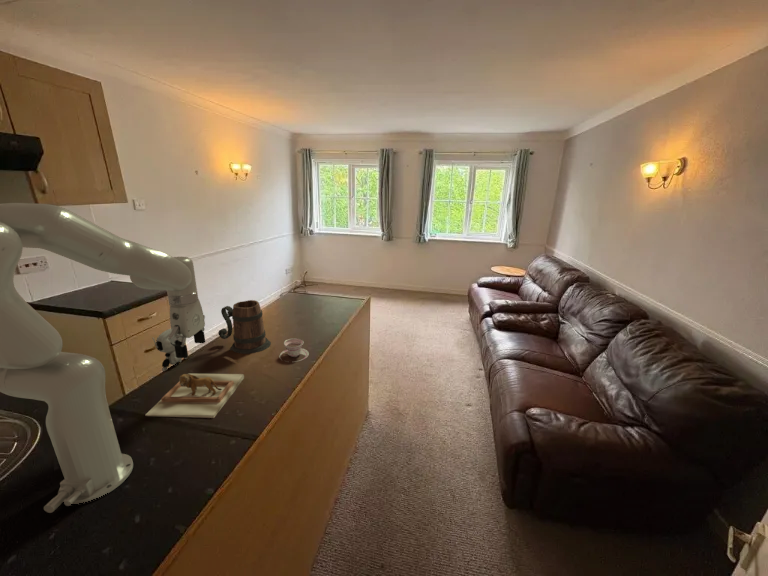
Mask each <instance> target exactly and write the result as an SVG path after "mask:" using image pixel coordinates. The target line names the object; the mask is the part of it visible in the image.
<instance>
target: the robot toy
mask: <svg viewBox="0 0 768 576" xmlns="http://www.w3.org/2000/svg"><path fill="white" fill-rule="evenodd" d="M171 332H172V331H171V328H168V329H166V330H164V331H162V333H160V334H159V335H158V336H157V338H156V341H155V337H152V340H153V342H154V346H155V349H156V350H157V351H159V352H160V353H165V354H164V357H165V358H164V360H163V361H162V363H161V364H162V365H161V368H162V372H166V371H167V370H168V367H169V366H170V365H173V366H178V365H179V364H180V363H182V361H183V359H185V360H187V359H188V358H189V356H188V357H187V358H177V357H176V352H175V347H173V345H172V344H171V343H170V341H169V340H168V336H169V335H170V333H171ZM180 336H183V335H180ZM178 340H179V341H180V342H181V341H182V338H179V339H178ZM179 362H180V363H179ZM178 363H179V364H178ZM175 364H176V365H175Z"/></svg>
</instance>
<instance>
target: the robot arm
mask: <svg viewBox="0 0 768 576" xmlns="http://www.w3.org/2000/svg"><path fill="white" fill-rule="evenodd" d="M24 248H27V249H28V248H29V249H42V250H44V251H48V252H51V253H53V254H56V255H58V256H61V257H63V258H67V259H69V260H71V261H75V262H77V263H79V264H81V265H84V266H87V267H89V268H92V269H94V270H98V271H101V272H105V273H109V274H116V275H120V276H121V275H122V276H129V279H130V281H131V283H132V284H133V285H135V286H136V287H137V288H140V289H142V290H143V289H144V290H152V291H166V293H167V299H168V305H169V321H170V329H171V331H172V332H171V333H170V335H169V336H168V340H169V341H170V343H171V344H172V345H173V347H175V352H176V357H177V358H182V359H184V358H187V357H188V358H189V354H188V353H189V352H188V347H187V344H186V340H187V339H190V338H192V337H193V340H194V343H195V344H205V343H206V337H205V326H206V320H205V318H206V316H205V314H204V312H203V308H202V307H203V306H202V305H201V301H200V299H199V295H198V289H197V281H196V280H197V279H196V274H195V268H194V261H193V260H192V258H190V257H187V256H171V255H170V254H168V253H165V252H163V251H160V250H158V249H155V248H151V247H148V246H146V245H144V244H140V243H137V242H135V241H132V240H129V239H125V238H122V237H120V236H118V235H116V234H114V233H113V232H111V231H108V230H107V229H104V228H102V227H101V226H100V225H98V224H95V223H93V222H92V221H90V220H89V219H86V218H84V217H82V216H80V215H78V214H77V213H75V212H73V211H71V210H70V209H66V208H64V207H62V206H59V205H55V204H49V203H32V202H31V203H29V202H28V203H27V202H9V203H8V202H7V203H0V393H2V394H5V395H7V396H10V397H14V398H21V399H28V400H29V399H30V400H36V401H42V402H44V403H46V404H47V406H48V409H47V413H46V416H45V427H46V431H47V434H48V436H49V438H50V441H51V444H52V447H53V449H54V453H55V456H56V457H57V458H56V459H57V461H58V464H59V466H60V470H61V472H62V476H63V477H64V479H63V480H61V481H60V482H59V485H60V487H59V489H58V491H57V495H55V496H54V497H53V498H52V499H51V500H49V501H48V502H47V503H46V504H45V505H44V506H43V510H44V511H45V512H46V513H49V514H51V513H53V512H55V510H57V509H58V507H59V506H61V505H62V503H63V502H64V503H63V504H64V505H65V506H66V507H69V506H72V505H71V504H78V505H80V504H79V503H83V502H84V503H83V504H86V503H85V502H87V503H89V502H88V501H90V502H92V501H91V500H93V499H95V500H97V499H96V498H98V499H100V498H102V497H104V496H106V495H108V494H109V493H111V492H113V491H114V490H116V488H118V487H119V486H121V485H122V484H123V483H124V482H125V480H126V479H127V478H128V477H130V474H131V473H132V471H133V468H134V462H133V459H132V458H133V457H131V456H130V455H129V454H127V453H126V454H125V453H122V451H121V447H120V444H119V440H118V437H117V433H116V430H115V426H114V423H113V419H112V416H111V412H110V407H109V404H108V400H107V395H106V394H107V393H106V369H105V367H104V365H103V364H102V362H101V361H100V360H99V359H97V358H95V357H94V356H91V355H87V354H83V353H75V352H67V351H62V349H63V338H62V336H61V334H60V333H59V331H58V330H57V329H56V328H55V327H54V325H52V324H51V323H50V322H48V321H47V320H46V319H45V318H44V317H43V316H42V315H41V314H40V313H39V312H38V311H37V310H35V308H33V307H32V306H31V304H29V303H28V302H27V300H25V299H24V298H23V297H22V296H21V295H20V294H19V292H18V291H17V289H16V287H15V283H14V276H15V271H16V269H17V266H18V265H19V262H20V260H21V257H22V255H23V249H24ZM180 335H183V336H180ZM179 338H182V341H181V342H180V341H179V340H178V339H179ZM188 358H187V359H188ZM107 493H108V494H107ZM105 494H106V495H105ZM103 495H104V496H103ZM101 496H102V497H101ZM99 497H100V498H99ZM93 501H94V500H93Z"/></svg>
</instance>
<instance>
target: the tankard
mask: <svg viewBox="0 0 768 576" xmlns="http://www.w3.org/2000/svg"><path fill="white" fill-rule="evenodd" d="M220 313H221V316H222V317H223V318H222V319H224V321H225V322H226V327H227V328H222V329H220V330H219V331H218V336H219V338H221V339H222V340H227V339H228V338H230V337H231V335H232V334H233V341H234V342H233V343H232V345H231V346H230V348H229V351H233V352H234V353H236V354H241V355H242V354H243V355H245V354H246V355H250V354H255V353H260V352H262V351H265V350H267V349H268V348H269V347H271V345H272V342H271V341H270V340H269V339H268V338H267V337H266V334H267V333H266V330H265V326H264V320H263V318H264V317H263V314H264V313H263V310H262V309H261V306H260V302H259V301H257V300H255V299H254V300H253V299H249V300H244V301H238V302H236V303H234V304H233V307H231V306H229V305H226V306H224V307H222V308H221V312H220ZM231 319H232V320H231Z"/></svg>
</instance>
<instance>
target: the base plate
mask: <svg viewBox="0 0 768 576" xmlns="http://www.w3.org/2000/svg"><path fill="white" fill-rule="evenodd" d="M190 374H191V375H194V376H196V377H197V378H206V377H209V378H212V380H213V381H214V383H215V384H216V386H217V388H220V389H222V390H218V389H216V387H215V386H214V384H212V386H213V388H214V389H215V391H216V394H214V395H213V394H212V393H213V391H212V390H209V389H208V388H207V387H206V385H205V386H203V387H197V390H196V394H195V395H192V393H193V391H192V389H191V388H187V387H186V386H181V385H180V384H179V383H180V380H179V381H178V382H177V383H176V384H175V385H174V386H173V387H172V388H171V389H170V390H169V391H167V393H165V394H164V395H163V396H162V397H161V399H160V400H159V401H158V402H157V403H155V405H154V406H153V407H151V409H150V410H148V412H147V413H145V417H166V418H167V417H170V418H171V417H173V418H175V417H176V418H202V419H203V418H207V419H210V418H211V419H214V418H215V417H216V416H217V415H218V413H219V412H220V411H221V409H222V408H223V407H224V405H226V403H227V402H228V401H229V399H230V398H231V397H232V395H233V394H234V393H235V391H236V390H237V389H238V387H239V386H240V385H241V383H242V382H243V380H244V379H245V373H190Z"/></svg>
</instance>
